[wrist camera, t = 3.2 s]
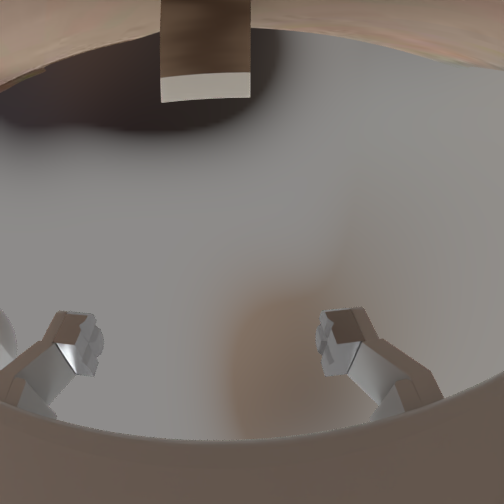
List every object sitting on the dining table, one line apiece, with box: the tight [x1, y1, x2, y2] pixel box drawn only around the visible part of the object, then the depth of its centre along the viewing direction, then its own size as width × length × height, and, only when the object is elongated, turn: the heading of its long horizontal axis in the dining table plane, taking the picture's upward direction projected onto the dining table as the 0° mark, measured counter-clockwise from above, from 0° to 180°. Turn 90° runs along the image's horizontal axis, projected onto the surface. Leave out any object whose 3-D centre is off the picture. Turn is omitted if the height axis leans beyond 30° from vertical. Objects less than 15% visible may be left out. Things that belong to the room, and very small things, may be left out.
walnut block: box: [160, 0, 251, 102], centre depth 14 cm, size 5×5×10 cm
